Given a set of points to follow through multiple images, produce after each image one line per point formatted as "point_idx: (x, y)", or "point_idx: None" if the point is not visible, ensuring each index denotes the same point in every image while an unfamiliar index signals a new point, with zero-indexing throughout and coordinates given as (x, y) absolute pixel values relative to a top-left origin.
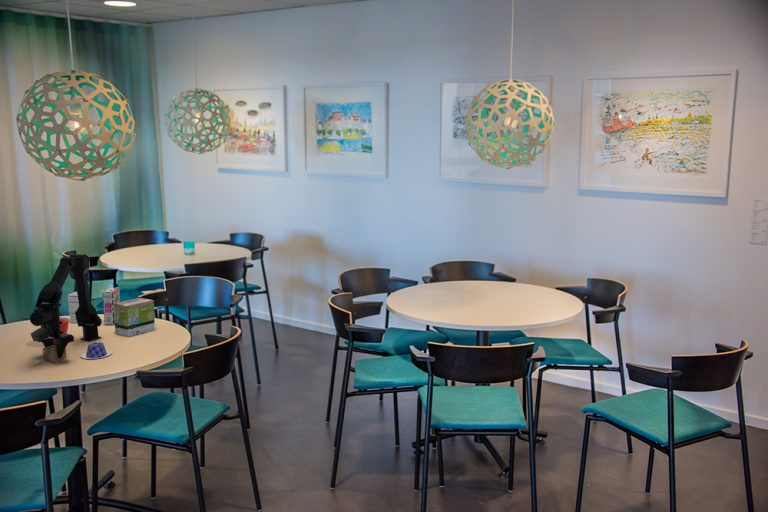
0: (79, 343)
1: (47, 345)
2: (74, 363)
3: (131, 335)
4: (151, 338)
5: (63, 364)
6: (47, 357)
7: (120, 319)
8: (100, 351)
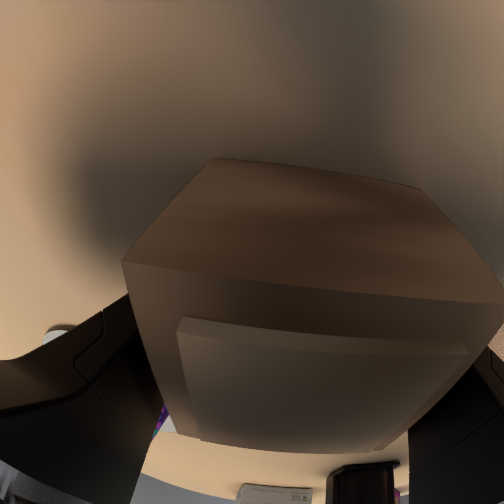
0: (375, 452)
1: (465, 404)
2: (35, 237)
3: (242, 487)
4: (175, 473)
5: (60, 173)
6: (345, 192)
7: None
8: None
